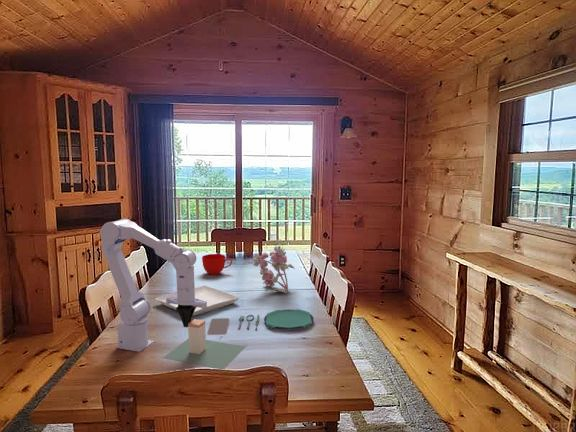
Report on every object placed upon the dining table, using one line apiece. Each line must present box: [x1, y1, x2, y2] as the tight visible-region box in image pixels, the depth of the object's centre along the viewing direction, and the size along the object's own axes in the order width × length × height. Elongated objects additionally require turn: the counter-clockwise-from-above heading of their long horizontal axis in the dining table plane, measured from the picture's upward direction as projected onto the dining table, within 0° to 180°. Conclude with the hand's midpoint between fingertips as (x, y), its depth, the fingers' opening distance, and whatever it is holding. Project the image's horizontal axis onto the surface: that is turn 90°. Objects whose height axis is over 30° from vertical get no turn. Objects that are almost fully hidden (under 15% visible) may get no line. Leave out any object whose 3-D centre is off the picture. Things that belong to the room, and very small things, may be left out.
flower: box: [249, 245, 296, 295], centre depth 196 cm, size 20×22×25 cm
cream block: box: [187, 318, 207, 354], centre depth 131 cm, size 4×4×10 cm
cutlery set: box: [237, 308, 315, 331], centre depth 157 cm, size 20×30×2 cm, turn 91°
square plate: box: [154, 285, 240, 317], centre depth 176 cm, size 27×27×4 cm
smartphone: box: [206, 317, 231, 336], centre depth 152 cm, size 7×1×15 cm
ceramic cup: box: [201, 253, 233, 276], centre depth 225 cm, size 13×17×10 cm
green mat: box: [162, 338, 246, 370], centre depth 131 cm, size 22×16×1 cm
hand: (187, 326), depth 132 cm, fingers closed
